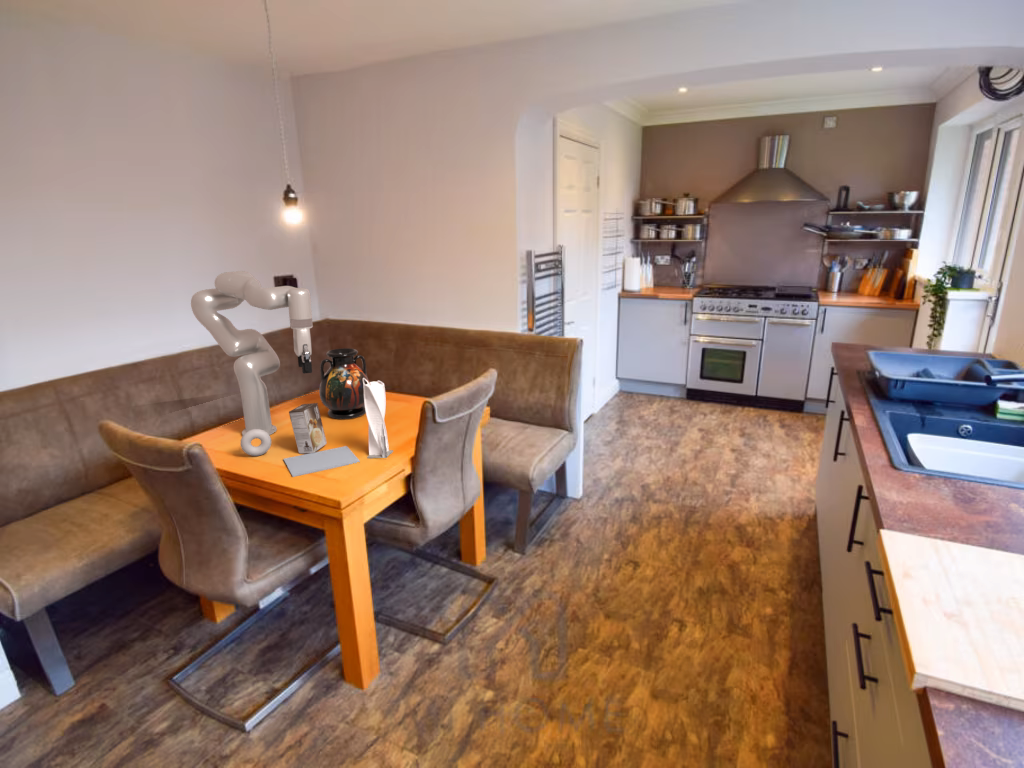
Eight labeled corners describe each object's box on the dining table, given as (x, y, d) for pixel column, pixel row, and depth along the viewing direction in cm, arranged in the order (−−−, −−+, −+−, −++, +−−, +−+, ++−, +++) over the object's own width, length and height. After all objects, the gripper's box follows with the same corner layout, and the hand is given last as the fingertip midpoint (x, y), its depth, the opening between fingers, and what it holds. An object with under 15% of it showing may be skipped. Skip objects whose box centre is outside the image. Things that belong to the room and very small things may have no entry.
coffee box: (312, 444, 208) (302, 403, 204) (327, 443, 206) (318, 402, 202) (298, 454, 199) (288, 411, 195) (314, 453, 198) (304, 410, 194)
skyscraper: (363, 458, 195) (356, 381, 188) (372, 449, 203) (365, 374, 195) (386, 459, 194) (380, 381, 186) (394, 450, 202) (389, 375, 194)
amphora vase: (328, 425, 228) (321, 359, 220) (316, 411, 246) (310, 349, 238) (379, 416, 238) (374, 352, 231) (365, 403, 256) (360, 344, 249)
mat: (283, 460, 194) (283, 458, 194) (346, 447, 205) (346, 445, 204) (292, 477, 180) (292, 475, 180) (359, 462, 191) (359, 460, 191)
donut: (242, 459, 194) (238, 432, 192) (242, 456, 198) (238, 429, 195) (273, 454, 198) (269, 428, 196) (272, 451, 202) (269, 425, 199)
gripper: (287, 320, 204) (291, 365, 209) (293, 328, 189) (297, 376, 194) (308, 318, 207) (312, 363, 212) (316, 326, 193) (320, 374, 198)
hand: (305, 369), depth 203 cm, fingers open, 9 cm apart
